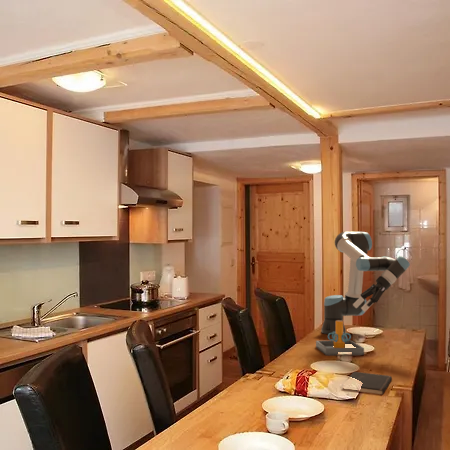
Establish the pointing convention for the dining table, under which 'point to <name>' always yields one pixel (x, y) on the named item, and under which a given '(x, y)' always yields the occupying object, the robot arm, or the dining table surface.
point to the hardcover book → (372, 382)
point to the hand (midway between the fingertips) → (358, 308)
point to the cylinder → (339, 335)
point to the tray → (328, 348)
